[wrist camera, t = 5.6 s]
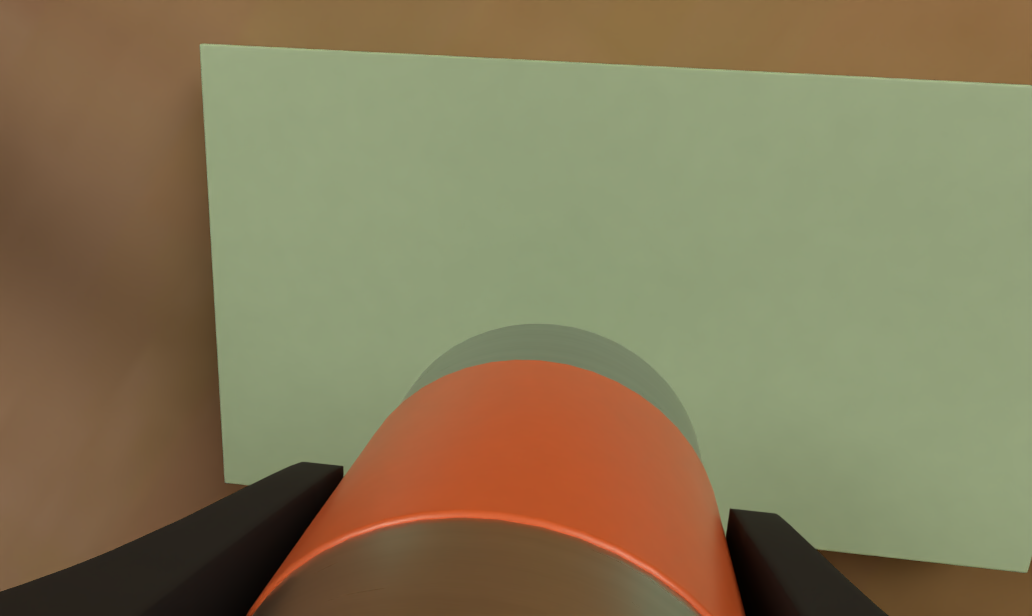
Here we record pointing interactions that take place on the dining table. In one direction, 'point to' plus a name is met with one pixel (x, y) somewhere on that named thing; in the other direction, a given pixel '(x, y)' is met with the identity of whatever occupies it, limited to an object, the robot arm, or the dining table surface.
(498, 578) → the can
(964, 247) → the stand
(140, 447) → the dining table surface
